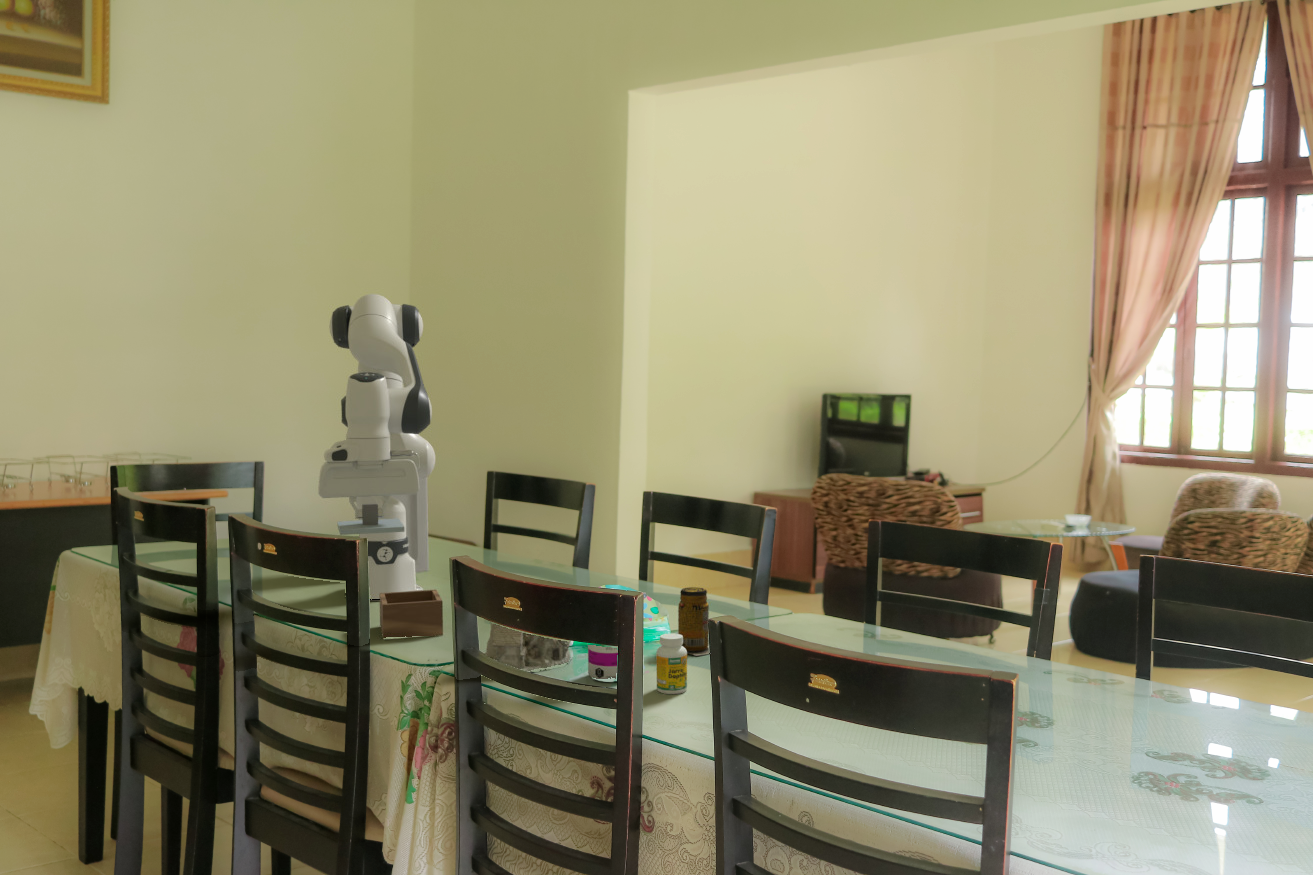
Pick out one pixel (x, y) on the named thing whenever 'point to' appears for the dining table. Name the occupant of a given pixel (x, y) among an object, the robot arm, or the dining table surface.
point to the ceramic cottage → (525, 649)
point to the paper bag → (417, 525)
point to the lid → (370, 523)
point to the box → (411, 613)
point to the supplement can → (602, 662)
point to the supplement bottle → (671, 664)
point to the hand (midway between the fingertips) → (369, 517)
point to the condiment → (694, 620)
